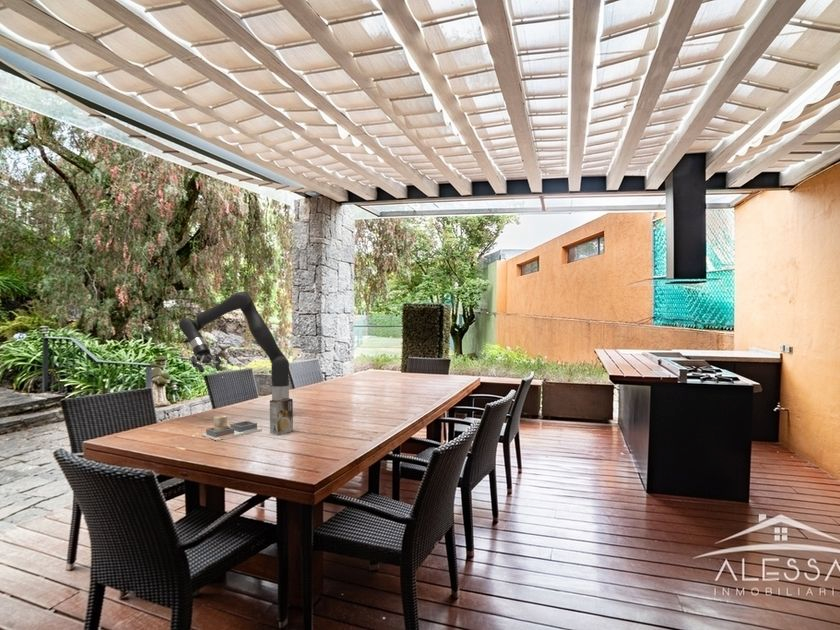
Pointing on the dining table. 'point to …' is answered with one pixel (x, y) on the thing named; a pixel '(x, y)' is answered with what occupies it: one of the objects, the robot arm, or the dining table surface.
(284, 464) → the dining table surface
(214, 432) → the socket board
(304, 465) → the dining table surface
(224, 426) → the plug
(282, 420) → the coffee box
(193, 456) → the dining table surface
